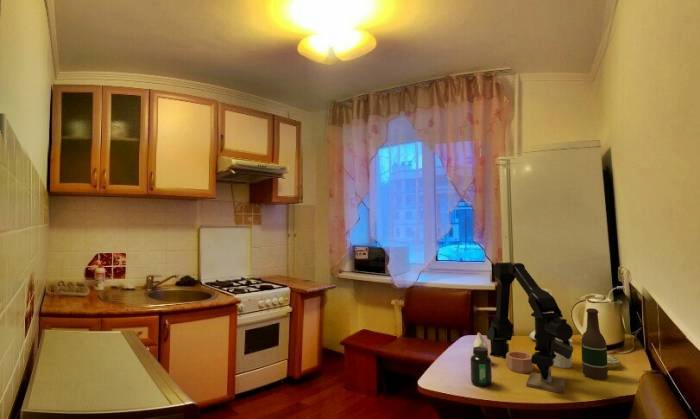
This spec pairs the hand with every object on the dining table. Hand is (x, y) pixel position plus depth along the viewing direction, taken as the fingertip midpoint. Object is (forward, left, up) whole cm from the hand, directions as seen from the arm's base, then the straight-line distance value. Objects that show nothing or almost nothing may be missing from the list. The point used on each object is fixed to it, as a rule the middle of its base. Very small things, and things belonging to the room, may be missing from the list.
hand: (545, 377), depth 130 cm
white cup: (+3, +22, -2) cm, 22 cm away
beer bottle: (+14, +16, -2) cm, 21 cm away
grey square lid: (0, 0, -2) cm, 2 cm away
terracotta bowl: (-10, +10, -2) cm, 14 cm away
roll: (-24, +8, -2) cm, 25 cm away
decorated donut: (+17, +30, -3) cm, 35 cm away
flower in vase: (-6, +50, -2) cm, 51 cm away
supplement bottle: (-19, -11, -2) cm, 22 cm away
